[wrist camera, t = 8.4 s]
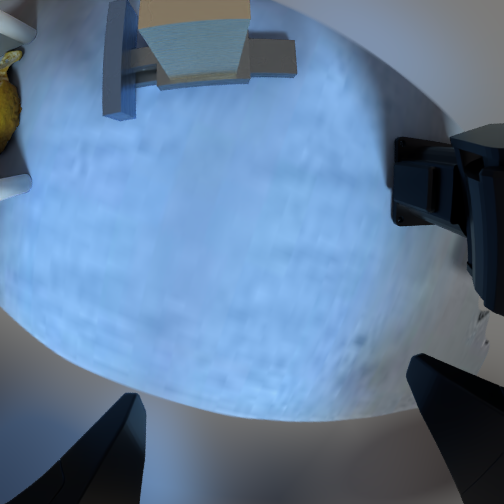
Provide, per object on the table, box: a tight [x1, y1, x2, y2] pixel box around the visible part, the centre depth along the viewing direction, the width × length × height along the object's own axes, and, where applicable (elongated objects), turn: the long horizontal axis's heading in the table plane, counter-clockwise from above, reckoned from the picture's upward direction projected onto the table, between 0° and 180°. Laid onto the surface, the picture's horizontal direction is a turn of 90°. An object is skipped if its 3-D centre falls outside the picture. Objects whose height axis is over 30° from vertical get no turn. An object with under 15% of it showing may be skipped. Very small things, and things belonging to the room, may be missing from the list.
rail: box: [136, 39, 297, 88], centre depth 15 cm, size 10×2×1 cm, turn 93°
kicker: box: [102, 0, 251, 121], centre depth 10 cm, size 8×7×8 cm
